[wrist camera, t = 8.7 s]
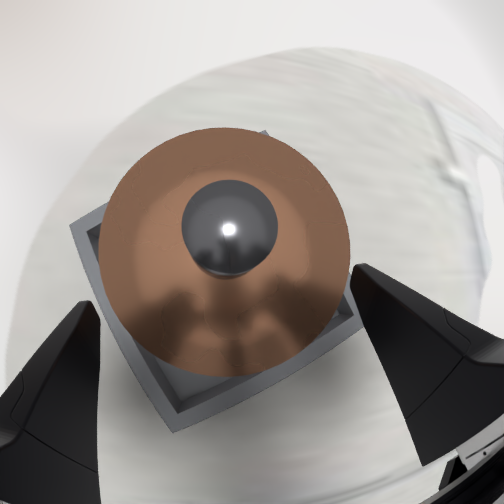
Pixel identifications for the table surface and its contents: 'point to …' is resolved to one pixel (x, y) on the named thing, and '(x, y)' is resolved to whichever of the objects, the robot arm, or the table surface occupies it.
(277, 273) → the copper bottle
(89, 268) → the fill tray
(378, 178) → the table surface
